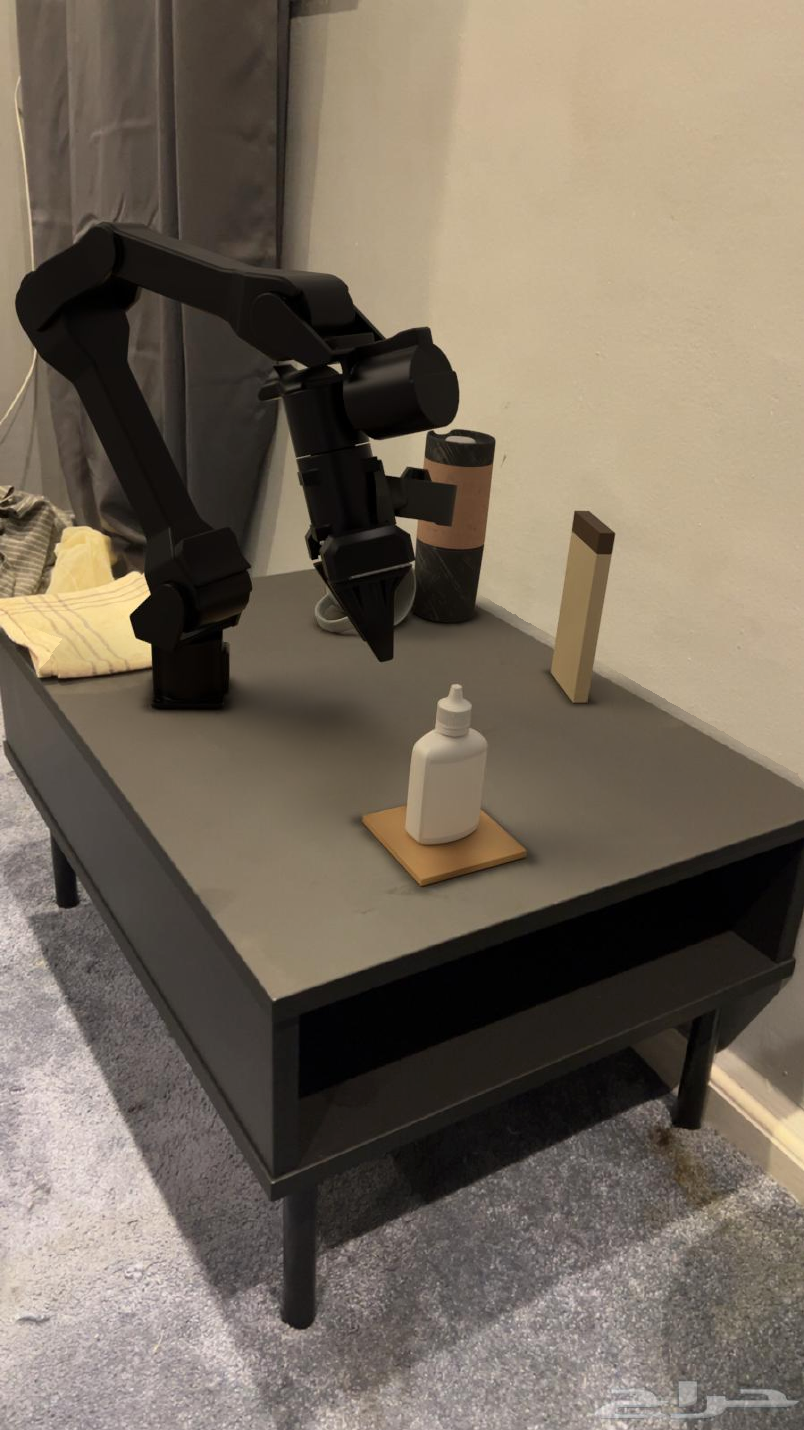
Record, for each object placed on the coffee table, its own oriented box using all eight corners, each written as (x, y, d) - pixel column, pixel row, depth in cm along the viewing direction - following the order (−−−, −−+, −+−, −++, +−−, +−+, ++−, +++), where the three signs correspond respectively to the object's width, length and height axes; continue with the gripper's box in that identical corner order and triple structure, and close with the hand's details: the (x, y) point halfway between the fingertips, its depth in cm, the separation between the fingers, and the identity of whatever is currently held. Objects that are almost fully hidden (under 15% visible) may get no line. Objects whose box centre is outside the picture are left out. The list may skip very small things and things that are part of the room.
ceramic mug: (361, 598, 123) (364, 535, 119) (415, 618, 118) (420, 553, 115) (297, 622, 115) (297, 555, 112) (351, 644, 111) (354, 575, 107)
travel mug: (469, 627, 117) (491, 447, 108) (403, 617, 118) (418, 437, 109) (480, 605, 124) (501, 433, 115) (417, 595, 125) (433, 425, 116)
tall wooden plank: (572, 703, 102) (599, 532, 94) (550, 672, 108) (574, 510, 100) (587, 702, 102) (615, 533, 94) (564, 672, 108) (589, 510, 100)
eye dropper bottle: (482, 848, 77) (500, 701, 72) (405, 846, 77) (418, 698, 71) (475, 816, 81) (492, 674, 75) (403, 814, 80) (414, 671, 75)
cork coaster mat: (421, 886, 73) (421, 879, 73) (362, 821, 80) (362, 815, 80) (526, 857, 77) (527, 850, 77) (461, 798, 84) (462, 791, 84)
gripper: (463, 424, 71) (505, 646, 75) (414, 431, 89) (451, 610, 93) (301, 460, 70) (354, 683, 74) (285, 459, 87) (328, 639, 92)
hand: (377, 650), depth 83 cm, fingers open, 9 cm apart
